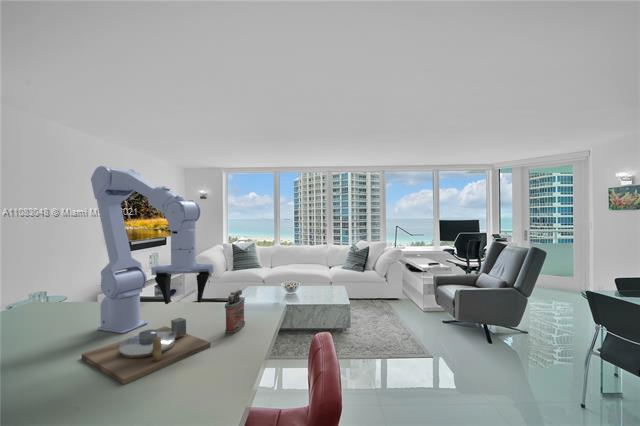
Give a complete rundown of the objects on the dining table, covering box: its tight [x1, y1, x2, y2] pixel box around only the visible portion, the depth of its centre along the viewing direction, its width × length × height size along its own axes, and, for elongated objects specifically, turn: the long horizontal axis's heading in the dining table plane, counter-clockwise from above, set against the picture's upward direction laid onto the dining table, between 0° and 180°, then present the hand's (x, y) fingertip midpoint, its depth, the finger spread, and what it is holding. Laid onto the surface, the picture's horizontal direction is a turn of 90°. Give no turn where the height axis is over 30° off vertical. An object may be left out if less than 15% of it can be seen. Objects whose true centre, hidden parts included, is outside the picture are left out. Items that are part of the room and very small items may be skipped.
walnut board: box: [81, 325, 211, 385], centre depth 72 cm, size 19×19×6 cm
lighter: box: [224, 289, 246, 336], centre depth 85 cm, size 8×3×10 cm, turn 168°
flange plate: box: [120, 317, 187, 358], centre depth 73 cm, size 11×14×4 cm
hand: (183, 302), depth 79 cm, fingers open, 7 cm apart
